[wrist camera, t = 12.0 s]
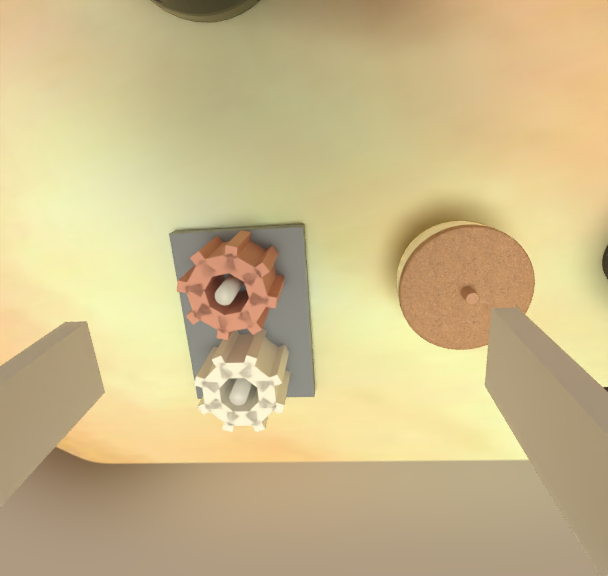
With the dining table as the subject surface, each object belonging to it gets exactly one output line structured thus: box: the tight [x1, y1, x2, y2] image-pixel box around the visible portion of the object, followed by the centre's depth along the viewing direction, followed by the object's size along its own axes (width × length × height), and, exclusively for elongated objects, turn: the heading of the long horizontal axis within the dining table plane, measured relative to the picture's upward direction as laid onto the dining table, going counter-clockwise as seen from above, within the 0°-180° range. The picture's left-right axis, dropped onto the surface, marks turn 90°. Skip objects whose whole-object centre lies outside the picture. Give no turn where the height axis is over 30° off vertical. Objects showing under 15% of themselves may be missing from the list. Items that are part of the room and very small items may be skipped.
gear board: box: [169, 224, 315, 432], centre depth 41 cm, size 19×13×8 cm
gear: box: [177, 230, 285, 340], centre depth 39 cm, size 8×8×6 cm
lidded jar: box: [397, 221, 535, 350], centre depth 37 cm, size 11×11×9 cm
